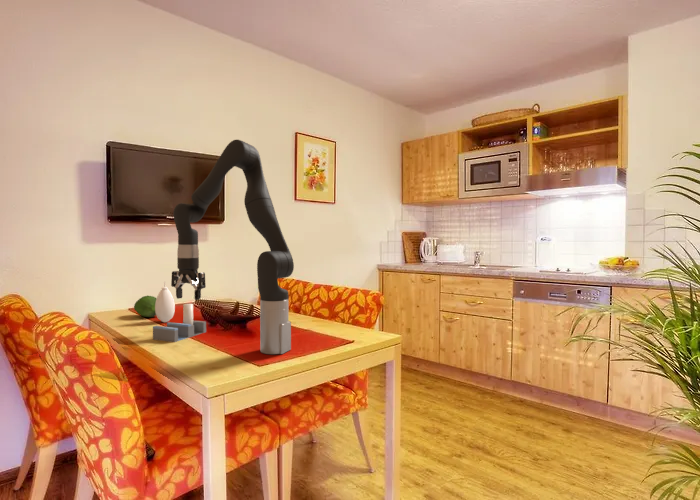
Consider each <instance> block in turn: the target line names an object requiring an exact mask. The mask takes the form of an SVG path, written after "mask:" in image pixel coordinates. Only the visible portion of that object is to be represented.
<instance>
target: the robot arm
mask: <svg viewBox="0 0 700 500" xmlns="http://www.w3.org/2000/svg"><path fill="white" fill-rule="evenodd" d="M234 167H235V168H238V169H241V170H242V172H243V175H244V178H245V180H246V185H247V186H246V191H245V195H244V208H245V211H246V215H247V217H248V220H249V222H250V223H251V225H252V226H253V227H254V228H255V230H256V231H257V232H258V233H259V234H260V235H261V237H262V238H264V240H265V241H266V243H267V245H268V248H269V250H266V251H263V252H262V253H260V254H259V255H258V256H259V257H258V258H257V263H256V265H257V266H256V269H257V270H256V271H257V274H256V275H257V290H258V292H259V299H260V300H259V301H260V302H259V303H260V304H259V306H260V309H259V310H260V311H259V313H260V314H259V315H260V316H259V318H260V319H259V322H260V323H259V325H260V327H259V332H260V335H259V336H260V337H259V338H260V339H259V341H260V345H259V350H260V353H261V354H265V355H284V354H286V353H287V352H289V351H291V350H292V322H291V321H289V291H288V289H285V288H282V287H280V285H279V282H278V279H284V278H289V277H290V276H292V274H293V272H294V269H295V268H294V267H295V266H294V264H295V263H294V259H293V255H292V252H291V251H290V248H289V246H288V244H287V241H286V239H285V237H284V235H283V232H282V229H281V226H280V223H279V221H278V217H277V214H276V211H275V207H274V204H273V200H272V197H271V196H270V193H269V192H270V191H269V189H268V185H267V182H266V179H265V176H264V175H265V174H264V171H263V165H262V160H261V155H260V153H259V150H258V149H257V148H256V147H255V146H253V145H251V144H250V143H248V142H246V141H243V140H241V139H233V140H231V141H229V143H228V144H227V145H226V146H225V148H224V150H223V151H222V153H221V154H220V156H219V158H218V159H217V160H216V162H215V164H214V166H213V167H212V169H211V170H210V171H209V173H208V175H207V177H206V178H205V179H204V180H203V181H202V183H200V184H199V186H198V187H197V188H196V189H195V190H194V191H193V193H192V194H191V200H192V203H183V202H180V203H178V204H177V205H175V207H174V209H173V212H172V213H173V215H172V216H173V221H174V224H175V228H176V230H177V235H178V237H177V240H178V241H177V244H178V245H177V259H176V260H177V264H176V265H177V269H178V270H173V271H171V283H170V284H171V285H170V286H171V287H173V288H175V296H176V299H182V298H183V286H184V285H185V284H190V285H191V286H192V287H193V289H194V300H195V301H199V300H200V299H201V297H202V294H201V293H202V290H203V289H206V273H205V272H199V271H198V270H199V267H200V264H199V263H200V261H199V260H200V258H199V255H200V253H199V251H200V249H199V231H198V230H197V229H194V228H192V225H191V224H192V223H198V222H199V221H200V220H202V218H203V217H204V215H205V213H206V211H207V210H208V207H209V206H210V205H211V204H212V202H213V201H215V199H216V198H217V197H218V196H219V195H220V193H221V191H222V189H223V185H224V184H223V183H224V181H225V180H224V179H225V178H226V175H227V174H228V173H229V172H230V171H231V170H232V169H233V168H234Z"/></svg>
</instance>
